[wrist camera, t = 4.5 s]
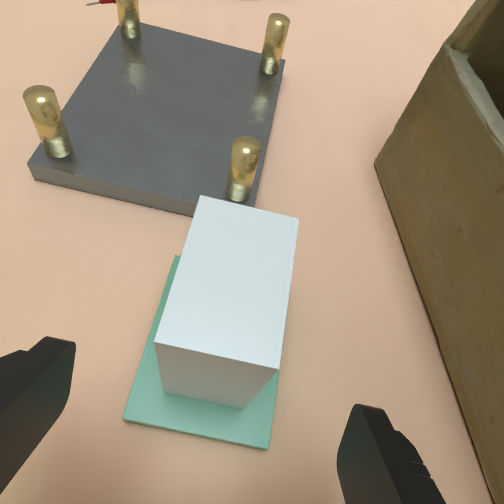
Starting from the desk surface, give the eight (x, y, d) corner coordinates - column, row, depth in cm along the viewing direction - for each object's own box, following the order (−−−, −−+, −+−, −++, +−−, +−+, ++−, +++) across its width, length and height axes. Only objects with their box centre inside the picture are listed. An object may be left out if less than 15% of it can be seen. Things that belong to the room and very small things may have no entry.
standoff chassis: (281, 75, 34) (297, 11, 30) (248, 230, 25) (263, 173, 21) (125, 35, 34) (116, -37, 29) (34, 179, 25) (0, 109, 20)
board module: (287, 289, 24) (337, 198, 16) (264, 450, 19) (321, 430, 11) (175, 263, 24) (173, 158, 16) (124, 421, 19) (86, 380, 11)
